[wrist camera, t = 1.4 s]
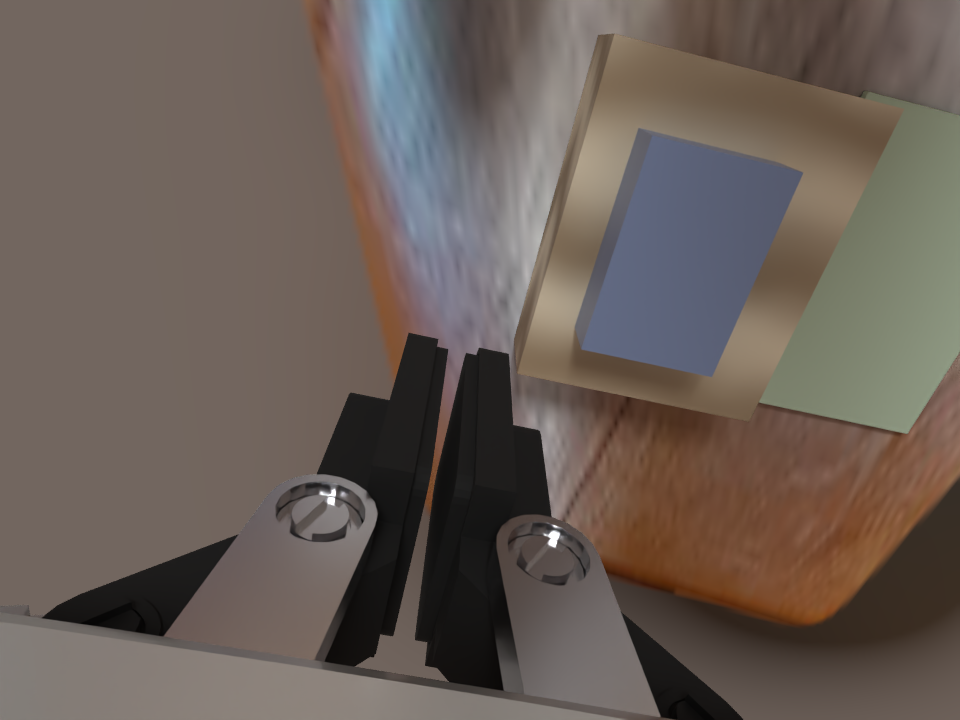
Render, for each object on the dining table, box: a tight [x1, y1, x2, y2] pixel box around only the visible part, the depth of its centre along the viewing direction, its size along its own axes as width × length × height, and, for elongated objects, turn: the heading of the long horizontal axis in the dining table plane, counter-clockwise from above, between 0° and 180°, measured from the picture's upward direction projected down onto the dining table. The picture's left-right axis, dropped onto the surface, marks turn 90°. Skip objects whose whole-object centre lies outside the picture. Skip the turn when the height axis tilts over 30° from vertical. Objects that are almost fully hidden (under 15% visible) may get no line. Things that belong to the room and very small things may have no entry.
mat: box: [759, 91, 960, 434], centre depth 32 cm, size 16×11×1 cm
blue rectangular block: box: [575, 128, 803, 377], centre depth 26 cm, size 9×6×2 cm, turn 167°
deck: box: [514, 34, 904, 422], centre depth 29 cm, size 15×12×4 cm
